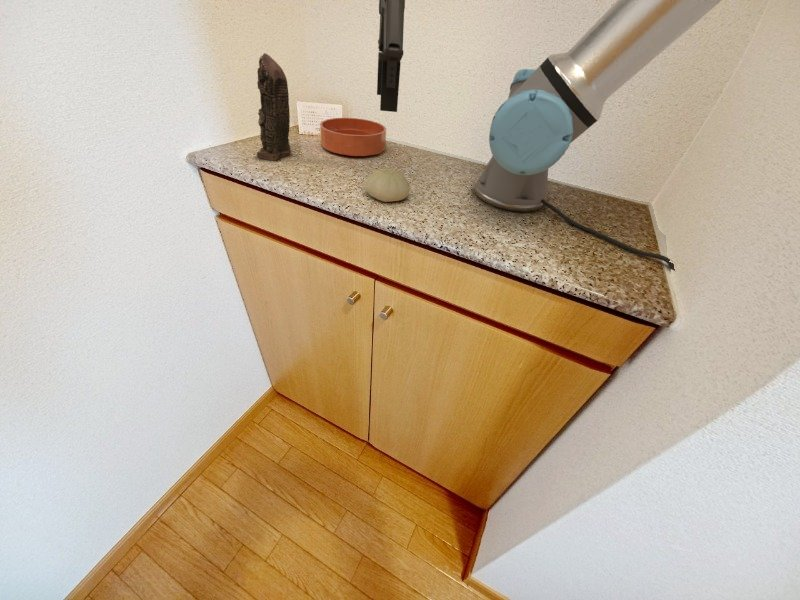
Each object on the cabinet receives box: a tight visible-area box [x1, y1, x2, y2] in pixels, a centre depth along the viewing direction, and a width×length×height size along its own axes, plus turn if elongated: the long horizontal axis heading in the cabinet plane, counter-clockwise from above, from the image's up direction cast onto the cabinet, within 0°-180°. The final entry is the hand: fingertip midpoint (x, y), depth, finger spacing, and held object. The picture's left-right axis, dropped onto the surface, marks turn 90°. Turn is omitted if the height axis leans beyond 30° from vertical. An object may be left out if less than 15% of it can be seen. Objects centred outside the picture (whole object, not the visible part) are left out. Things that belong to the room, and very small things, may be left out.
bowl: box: [319, 117, 387, 157], centre depth 86 cm, size 17×17×6 cm
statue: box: [256, 52, 292, 162], centre depth 71 cm, size 7×7×20 cm
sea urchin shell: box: [364, 167, 411, 203], centre depth 65 cm, size 9×8×8 cm
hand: (386, 102), depth 57 cm, fingers open, 13 cm apart
